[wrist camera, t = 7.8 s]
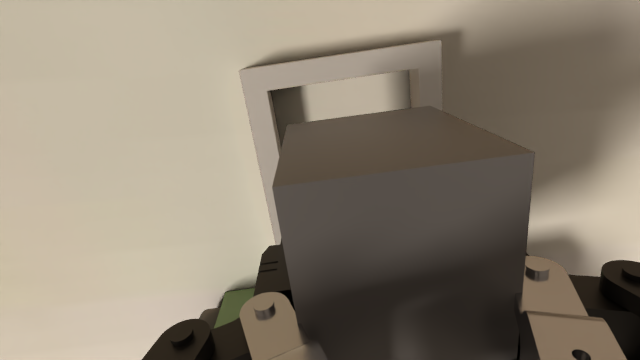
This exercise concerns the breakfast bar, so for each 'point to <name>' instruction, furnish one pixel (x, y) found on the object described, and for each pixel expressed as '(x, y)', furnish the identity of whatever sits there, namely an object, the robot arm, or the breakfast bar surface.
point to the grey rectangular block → (404, 235)
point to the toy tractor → (262, 79)
